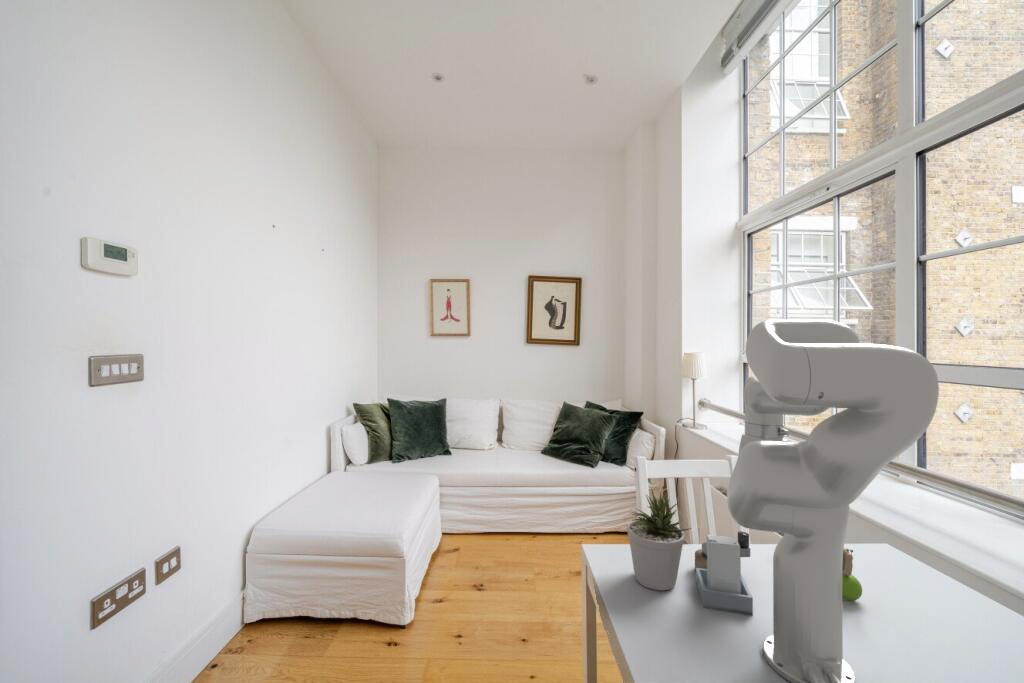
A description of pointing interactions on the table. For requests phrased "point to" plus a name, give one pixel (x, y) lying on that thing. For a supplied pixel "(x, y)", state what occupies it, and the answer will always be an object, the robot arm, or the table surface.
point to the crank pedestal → (700, 560)
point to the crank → (743, 542)
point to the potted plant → (656, 546)
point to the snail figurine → (849, 579)
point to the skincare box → (723, 564)
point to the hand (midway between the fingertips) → (763, 511)
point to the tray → (723, 596)
